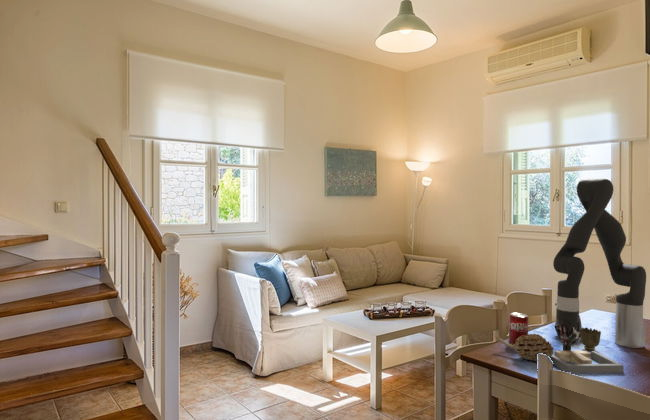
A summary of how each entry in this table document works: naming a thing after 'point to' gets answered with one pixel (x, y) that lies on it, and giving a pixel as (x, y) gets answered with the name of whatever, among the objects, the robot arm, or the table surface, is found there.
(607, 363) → the shallow grey tray
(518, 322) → the soda can
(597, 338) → the cup
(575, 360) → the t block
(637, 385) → the table surface
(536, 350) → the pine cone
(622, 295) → the robot arm
